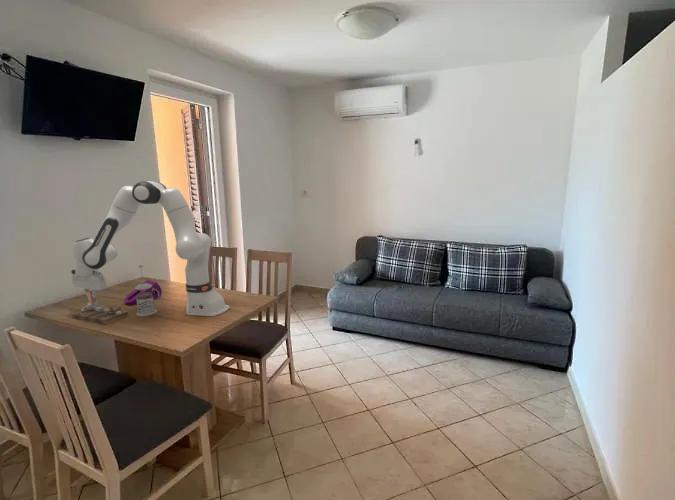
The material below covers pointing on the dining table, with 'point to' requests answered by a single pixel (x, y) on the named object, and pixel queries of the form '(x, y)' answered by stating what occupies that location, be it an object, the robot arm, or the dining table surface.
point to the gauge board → (101, 314)
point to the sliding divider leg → (91, 301)
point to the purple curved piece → (132, 296)
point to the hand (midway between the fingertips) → (91, 296)
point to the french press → (145, 308)
